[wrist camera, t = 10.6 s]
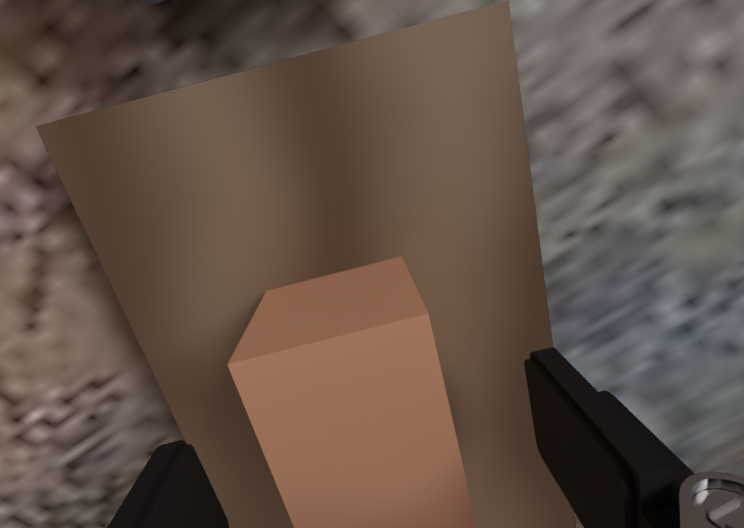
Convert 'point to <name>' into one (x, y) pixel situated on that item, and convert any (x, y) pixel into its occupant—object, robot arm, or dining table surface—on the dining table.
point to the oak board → (330, 235)
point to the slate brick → (154, 1)
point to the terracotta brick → (353, 403)
